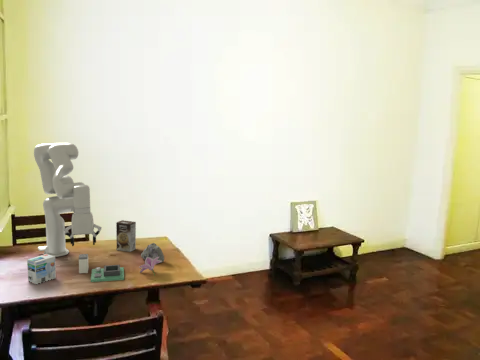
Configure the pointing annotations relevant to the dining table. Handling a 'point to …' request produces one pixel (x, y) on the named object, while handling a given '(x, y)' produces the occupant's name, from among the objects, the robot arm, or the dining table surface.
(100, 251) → the dining table surface
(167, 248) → the dining table surface
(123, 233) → the coffee box
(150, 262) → the lily
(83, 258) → the plug
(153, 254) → the mineral rock
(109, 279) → the board
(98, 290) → the dining table surface
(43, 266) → the light bulb box
